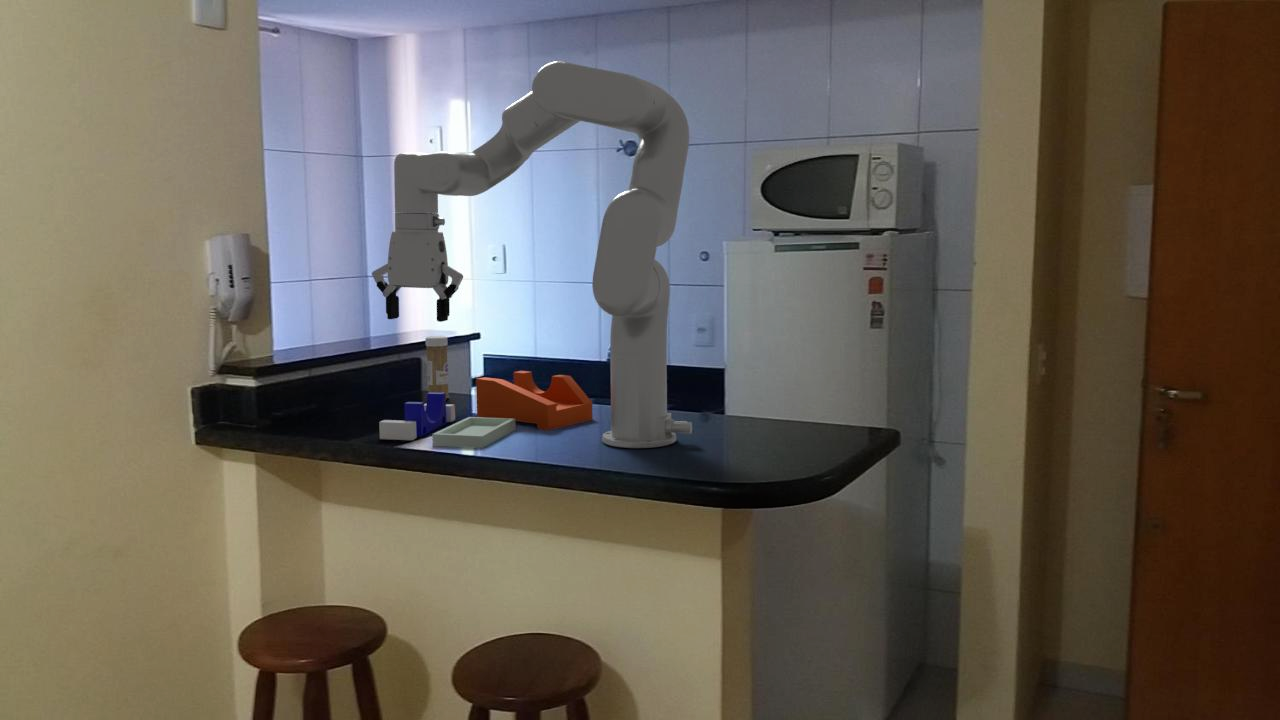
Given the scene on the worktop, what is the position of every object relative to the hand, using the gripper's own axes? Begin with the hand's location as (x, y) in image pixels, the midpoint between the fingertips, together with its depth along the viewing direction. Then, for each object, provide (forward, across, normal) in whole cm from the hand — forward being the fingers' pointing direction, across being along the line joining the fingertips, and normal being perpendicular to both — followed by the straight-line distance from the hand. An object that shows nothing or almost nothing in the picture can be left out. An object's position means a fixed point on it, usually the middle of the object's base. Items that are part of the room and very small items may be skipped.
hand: (417, 319), depth 191 cm
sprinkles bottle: (+21, +11, -31) cm, 39 cm away
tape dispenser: (+20, -17, -14) cm, 30 cm away
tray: (+20, -13, +4) cm, 24 cm away
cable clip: (+20, -1, 0) cm, 21 cm away
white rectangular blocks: (+20, 0, 0) cm, 20 cm away
